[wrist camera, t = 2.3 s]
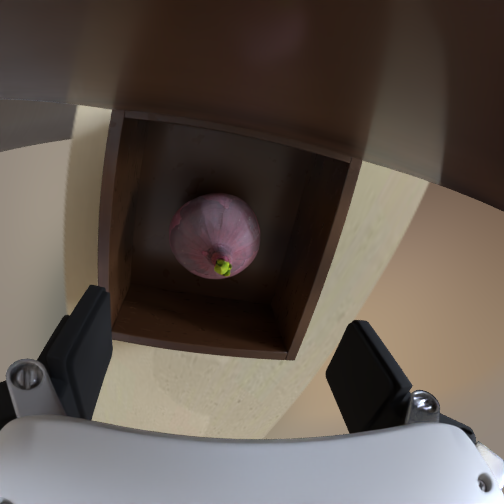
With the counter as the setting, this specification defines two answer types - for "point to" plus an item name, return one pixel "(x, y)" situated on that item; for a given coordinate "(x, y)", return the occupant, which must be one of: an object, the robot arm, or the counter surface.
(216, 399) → the counter surface
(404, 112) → the lid
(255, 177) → the chest
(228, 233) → the vegetable
